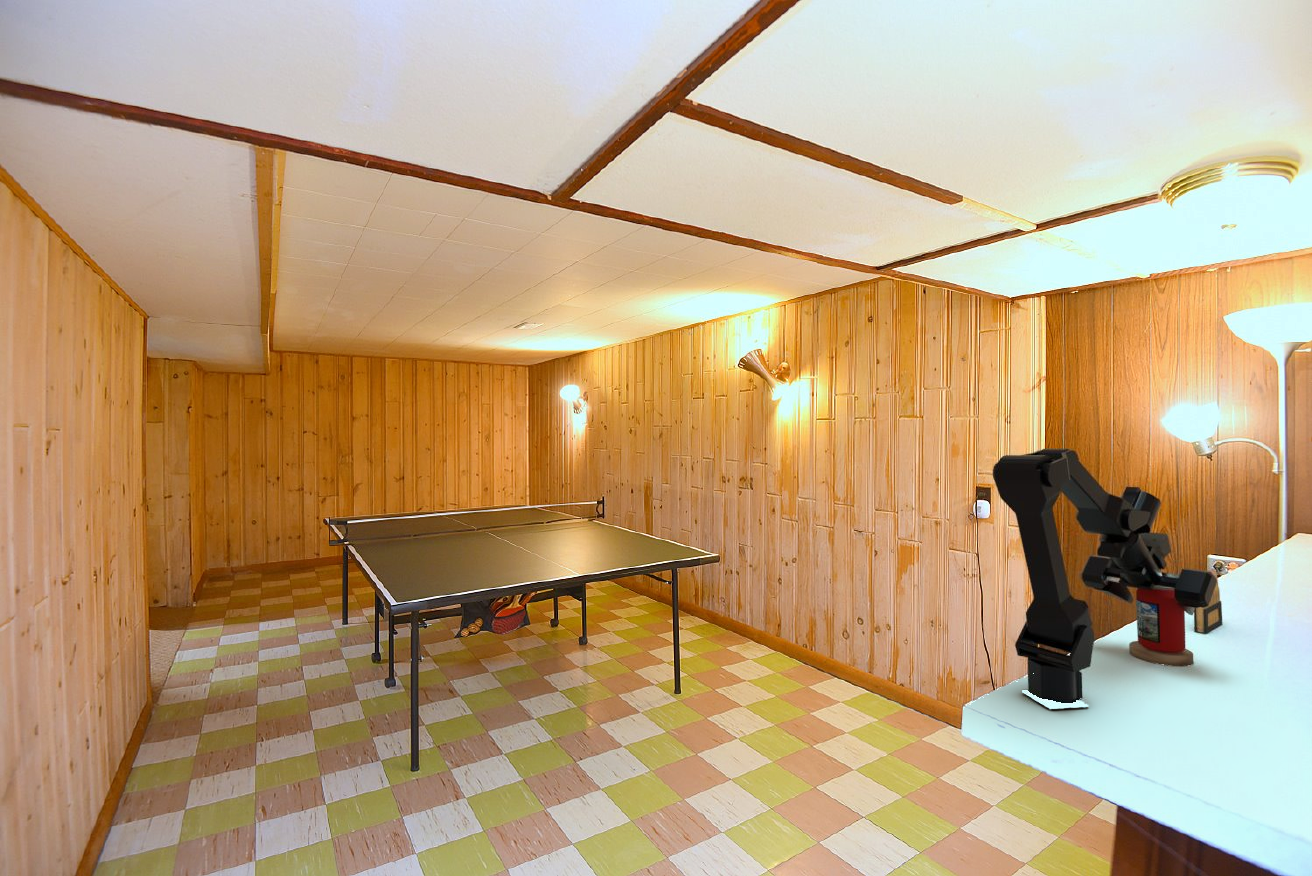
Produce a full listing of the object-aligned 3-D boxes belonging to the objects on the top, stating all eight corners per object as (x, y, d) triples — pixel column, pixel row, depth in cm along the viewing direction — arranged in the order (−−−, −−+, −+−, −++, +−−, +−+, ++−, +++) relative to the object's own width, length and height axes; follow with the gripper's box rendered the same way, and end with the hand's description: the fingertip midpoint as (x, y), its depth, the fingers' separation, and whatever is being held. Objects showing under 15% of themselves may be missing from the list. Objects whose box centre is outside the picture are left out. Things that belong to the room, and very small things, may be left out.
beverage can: (1132, 641, 114) (1130, 578, 114) (1177, 645, 111) (1175, 581, 111) (1145, 653, 107) (1142, 587, 107) (1192, 658, 105) (1190, 590, 105)
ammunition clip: (1206, 634, 121) (1203, 575, 121) (1194, 632, 122) (1192, 574, 123) (1222, 624, 127) (1220, 568, 127) (1211, 622, 128) (1209, 567, 128)
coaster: (1185, 670, 103) (1184, 661, 103) (1122, 655, 111) (1121, 647, 111) (1200, 658, 108) (1199, 650, 108) (1138, 645, 116) (1138, 637, 116)
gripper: (1210, 524, 99) (1240, 582, 104) (1086, 514, 116) (1117, 564, 121) (1190, 577, 95) (1222, 634, 100) (1065, 559, 112) (1098, 608, 117)
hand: (1160, 607), depth 110 cm, fingers open, 9 cm apart
